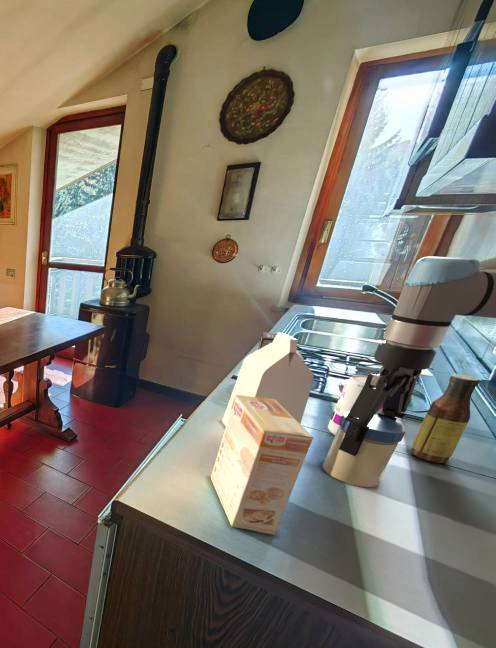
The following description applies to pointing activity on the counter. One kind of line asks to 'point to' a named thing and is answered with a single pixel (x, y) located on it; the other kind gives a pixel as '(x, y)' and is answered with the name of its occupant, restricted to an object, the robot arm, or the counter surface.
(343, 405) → the supplement can
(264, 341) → the coffee box
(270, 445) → the coffeecake box
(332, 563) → the counter surface
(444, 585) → the counter surface
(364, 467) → the jar
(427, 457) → the sauce bottle
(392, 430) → the lid
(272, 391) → the milk
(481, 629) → the counter surface
